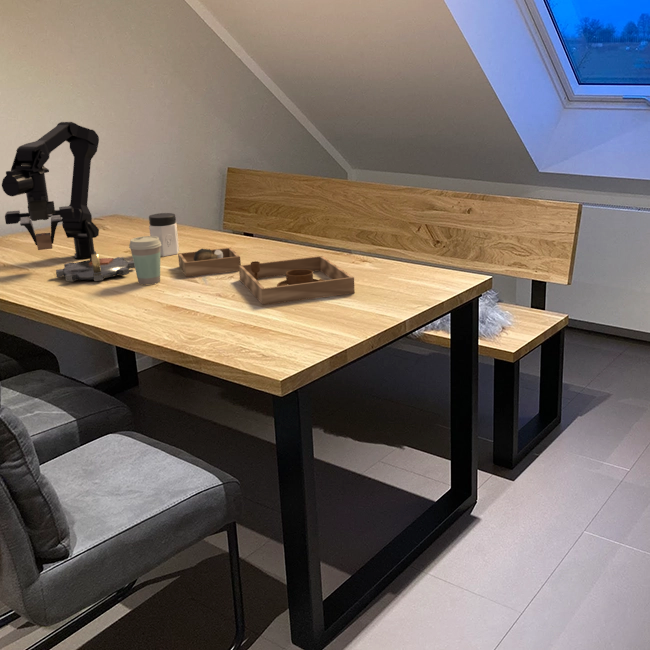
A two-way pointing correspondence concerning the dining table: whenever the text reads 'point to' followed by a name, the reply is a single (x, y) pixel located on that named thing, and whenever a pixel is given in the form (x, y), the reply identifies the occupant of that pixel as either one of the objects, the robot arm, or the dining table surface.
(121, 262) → the sprocket
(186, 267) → the open wooden box
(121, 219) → the dining table surface
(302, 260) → the saucer tray frame
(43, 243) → the link block
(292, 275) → the place setting
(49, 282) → the dining table surface
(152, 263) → the coffee cup
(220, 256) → the eagle figurine
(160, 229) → the jar
